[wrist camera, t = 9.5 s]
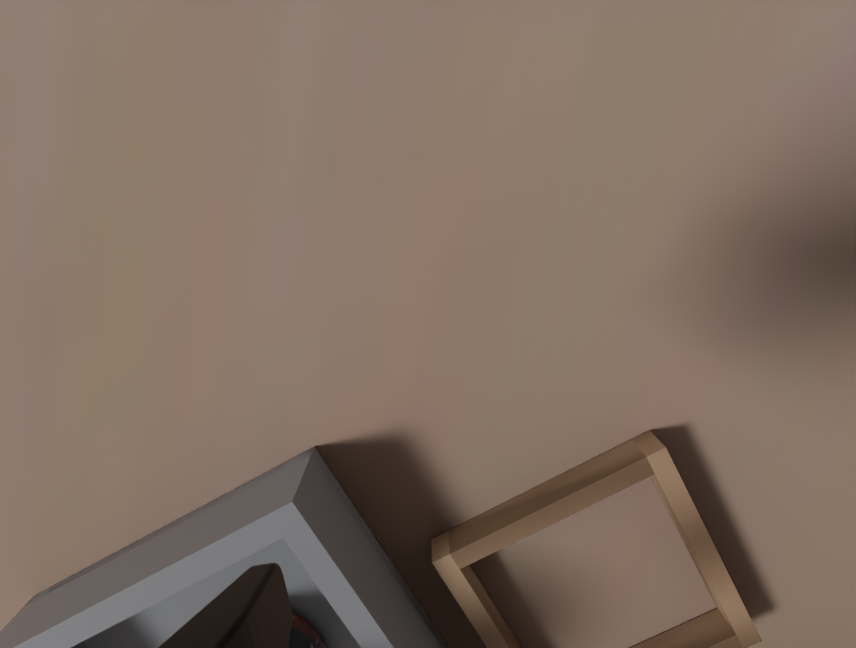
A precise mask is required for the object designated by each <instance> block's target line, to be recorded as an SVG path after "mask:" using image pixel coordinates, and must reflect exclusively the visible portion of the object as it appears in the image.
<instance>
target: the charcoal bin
mask: <svg viewBox="0 0 856 648" xmlns="http://www.w3.org/2000/svg"><path fill="white" fill-rule="evenodd" d="M267 563H277V564H278V565H279V566H280V568H281V570H282V573H283V577H284V581H285V584H286V588H287V592H288V596H289V600H290V604H291V609H292V613H294V614H297V615H298V616H300V617H302V618H303V619H305V620H306V621H307V622H308V623H310V624H311V625H312V626H313V627H314V628H315V629H316V630H317V631H318V633H319V634H320V636H321V637H322V639H323V640H324V642H325V644H326V647H327V648H448V646H447V645H446V643H445V642H444V640H443V639H442V637H441V636H440V634H439V633H438V631H437V630H436V628H435V627H434V625H433V624H432V622H431V621H430V619H429V618H428V616H427V615H426V613H425V612H424V610H423V609H422V607H421V606H420V604H419V603H418V601H417V600H416V598H415V597H414V595H413V594H412V592H411V591H410V589H409V588H408V586H407V585H406V583H405V582H404V580H403V579H402V577H401V576H400V574H399V573H398V571H397V570H396V568H395V567H394V565H393V564H392V562H391V561H390V559H389V558H388V556H387V555H386V553H385V552H384V550H383V549H382V547H381V546H380V544H379V543H378V541H377V540H376V538H375V537H374V535H373V534H372V532H371V531H370V529H369V528H368V526H367V525H366V523H365V522H364V520H363V519H362V517H361V516H360V514H359V513H358V511H357V510H356V508H355V507H354V505H353V504H352V502H351V501H350V499H349V498H348V496H347V495H346V493H345V492H344V490H343V489H342V487H341V486H340V484H339V483H338V481H337V480H336V478H335V477H334V475H333V474H332V472H331V471H330V469H329V468H328V466H327V465H326V463H325V462H324V460H323V459H322V457H321V456H320V454H319V453H318V451H317V450H316V448H315V447H313V448H311V449H309V450H307V451H305V452H303V453H301V454H299V455H298V456H296V457H294V458H292V459H290V460H288V461H286V462H284V463H283V464H281V465H279V466H277V467H275V468H273V469H271V470H269V471H268V472H266V473H264V474H262V475H260V476H258V477H256V478H254V479H252V480H251V481H249V482H247V483H245V484H243V485H241V486H239V487H237V488H236V489H234V490H232V491H230V492H228V493H226V494H224V495H222V496H221V497H219V498H217V499H215V500H213V501H211V502H209V503H207V504H206V505H204V506H202V507H200V508H198V509H196V510H194V511H192V512H191V513H189V514H187V515H185V516H183V517H181V518H179V519H177V520H175V521H174V522H172V523H170V524H168V525H166V526H164V527H162V528H160V529H159V530H157V531H155V532H153V533H151V534H149V535H147V536H145V537H144V538H142V539H140V540H138V541H136V542H134V543H132V544H130V545H129V546H127V547H125V548H123V549H121V550H119V551H117V552H115V553H114V554H112V555H110V556H108V557H106V558H104V559H102V560H100V561H99V562H97V563H95V564H93V565H91V566H89V567H87V568H85V569H83V570H82V571H80V572H78V573H76V574H74V575H72V576H70V577H68V578H67V579H65V580H63V581H61V582H59V583H57V584H55V585H53V586H52V587H50V588H48V589H46V590H44V591H42V592H40V593H38V594H37V595H35V596H33V597H32V599H31V600H30V601H29V602H28V603H27V604H26V605H25V606H24V607H23V608H22V609H21V610H20V611H19V612H18V613H17V615H16V616H15V617H14V618H13V619H12V620H11V621H10V622H9V623H8V624H7V625H6V626H5V627H4V628H3V629H2V630H1V632H0V648H158V647H159V646H160V645H161V644H163V643H164V642H165V641H166V640H167V639H168V638H169V637H171V636H172V635H173V634H174V633H175V632H176V631H177V630H179V629H180V628H181V627H182V626H183V625H184V624H185V623H187V622H188V621H189V620H190V619H191V618H192V617H194V616H195V615H196V614H197V613H198V612H199V611H200V610H202V609H203V608H204V607H205V606H206V605H207V604H208V603H210V602H211V601H212V600H213V599H214V598H215V597H216V596H218V595H219V594H220V593H221V592H222V591H223V590H224V589H226V588H227V587H228V586H229V585H230V584H231V583H232V582H234V581H235V580H236V579H237V578H238V577H239V576H241V575H242V574H243V573H244V572H245V571H246V570H247V569H249V568H250V567H251V566H254V565H260V564H267Z"/></svg>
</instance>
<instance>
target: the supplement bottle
mask: <svg viewBox="0 0 856 648" xmlns="http://www.w3.org/2000/svg"><path fill="white" fill-rule="evenodd" d="M288 648H327V647H326V644H325V642H324V640H323V639H322V637H321V636H320V634H319V633H318V631H317V630H316V629H315V628H314V627H313V626H312V625H311V624H310V623H308V622H307V621H306V620H305V619H303V618H302V617H300V616H298V615H297V614H294V613H292V625H291V632H290V640H289V647H288Z"/></svg>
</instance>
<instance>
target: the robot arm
mask: <svg viewBox="0 0 856 648" xmlns="http://www.w3.org/2000/svg"><path fill="white" fill-rule="evenodd" d="M291 625H292V609H291V604H290V600H289V596H288V592H287V588H286V584H285V581H284V577H283V573H282V570H281V568H280V566H279V565H278V564H277V563H267V564H260V565H254V566H251V567H250V568H249V569H247V570H246V571H245V572H244V573H243V574H242V575H241V576H239V577H238V578H237V579H236V580H235V581H234V582H232V583H231V584H230V585H229V586H228V587H227V588H226V589H224V590H223V591H222V592H221V593H220V594H219V595H218V596H216V597H215V598H214V599H213V600H212V601H211V602H210V603H208V604H207V605H206V606H205V607H204V608H203V609H202V610H200V611H199V612H198V613H197V614H196V615H195V616H194V617H192V618H191V619H190V620H189V621H188V622H187V623H185V624H184V625H183V626H182V627H181V628H180V629H179V630H177V631H176V632H175V633H174V634H173V635H172V636H171V637H169V638H168V639H167V640H166V641H165V642H164V643H163V644H161V645H160V646H159V647H158V648H288V647H289V640H290V632H291Z"/></svg>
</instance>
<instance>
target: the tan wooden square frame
mask: <svg viewBox="0 0 856 648" xmlns="http://www.w3.org/2000/svg"><path fill="white" fill-rule="evenodd" d="M649 476H651V478H652V480H653V482H654V484H655V486H656V488H657V490H658V492H659V494H660V496H661V498H662V500H663V502H664V504H665V506H666V508H667V510H668V512H669V514H670V516H671V518H672V519H673V521H674V523H675V525H676V527H677V529H678V531H679V533H680V535H681V537H682V539H683V541H684V543H685V545H686V547H687V549H688V551H689V553H690V555H691V557H692V559H693V561H694V563H695V565H696V566H697V568H698V570H699V572H700V574H701V576H702V578H703V580H704V582H705V584H706V586H707V588H708V590H709V592H710V594H711V596H712V598H713V600H714V602H715V604H716V606H717V609H714V610H712V611H710V612H708V613H706V614H703V615H701V616H699V617H697V618H695V619H692V620H690V621H688V622H686V623H684V624H681V625H679V626H677V627H675V628H673V629H670V630H668V631H666V632H664V633H662V634H659V635H657V636H655V637H653V638H651V639H649V640H646V641H644V642H642V643H640V644H638V645H635V646H633V647H631V648H747V647H749V646H751V645H753V644H756V643H758V642H760V641H762V640H761V638H760V636H759V634H758V632H757V630H756V628H755V626H754V624H753V622H752V620H751V618H750V616H749V614H748V612H747V610H746V608H745V606H744V604H743V602H742V600H741V598H740V596H739V594H738V592H737V590H736V588H735V586H734V584H733V582H732V580H731V578H730V576H729V574H728V572H727V570H726V568H725V566H724V564H723V562H722V560H721V557H720V555H719V553H718V551H717V549H716V547H715V545H714V543H713V541H712V539H711V537H710V535H709V533H708V531H707V529H706V527H705V525H704V523H703V521H702V519H701V517H700V515H699V513H698V511H697V509H696V507H695V505H694V503H693V501H692V499H691V497H690V495H689V493H688V491H687V489H686V487H685V485H684V483H683V481H682V479H681V477H680V475H679V473H678V471H677V469H676V467H675V465H674V463H673V461H672V459H671V457H670V455H669V453H668V451H667V449H666V447H665V446H664V445H663V444H662V443H661V442H660V441H659V439H658V438H657V437H656V436H655V435H654V434H653V433H652V432H651V431H650V430H649V431H647V432H645V433H643V434H641V435H639V436H637V437H635V438H633V439H631V440H629V441H627V442H625V443H623V444H621V445H619V446H617V447H615V448H613V449H611V450H609V451H607V452H605V453H603V454H601V455H599V456H597V457H595V458H593V459H591V460H589V461H587V462H585V463H583V464H581V465H579V466H577V467H575V468H573V469H571V470H569V471H567V472H565V473H563V474H561V475H559V476H557V477H555V478H553V479H551V480H549V481H547V482H545V483H543V484H541V485H539V486H537V487H535V488H533V489H531V490H529V491H527V492H525V493H523V494H521V495H519V496H517V497H515V498H513V499H511V500H509V501H507V502H505V503H503V504H501V505H499V506H497V507H495V508H493V509H491V510H489V511H487V512H485V513H483V514H481V515H479V516H477V517H475V518H473V519H471V520H469V521H467V522H465V523H463V524H461V525H459V526H457V527H455V528H453V529H451V530H449V531H447V532H445V533H443V534H441V535H439V536H437V537H435V538H433V539H431V547H432V564H433V565H434V567H435V568H436V570H437V571H438V573H439V574H440V576H441V578H442V579H443V581H444V582H445V584H446V585H447V587H448V588H449V590H450V591H451V593H452V595H453V596H454V598H455V599H456V601H457V602H458V604H459V605H460V607H461V608H462V610H463V612H464V613H465V615H466V616H467V618H468V619H469V621H470V622H471V624H472V626H473V627H474V629H475V630H476V632H477V633H478V635H479V636H480V638H481V639H482V641H483V643H484V644H485V646H486V647H487V648H521V646H520V645H519V643H518V642H517V640H516V639H515V637H514V635H513V634H512V632H511V631H510V629H509V627H508V626H507V624H506V623H505V621H504V619H503V618H502V616H501V615H500V613H499V611H498V610H497V608H496V607H495V605H494V603H493V602H492V600H491V599H490V597H489V595H488V594H487V592H486V591H485V589H484V588H483V586H482V584H481V583H480V581H479V580H478V578H477V576H476V575H475V573H474V572H473V570H472V568H471V567H470V564H472V563H474V562H476V561H478V560H480V559H482V558H484V557H486V556H488V555H490V554H492V553H494V552H496V551H498V550H500V549H502V548H504V547H506V546H508V545H510V544H512V543H515V542H517V541H519V540H521V539H523V538H525V537H527V536H529V535H531V534H533V533H535V532H537V531H539V530H541V529H543V528H545V527H547V526H549V525H551V524H553V523H555V522H557V521H559V520H561V519H564V518H566V517H568V516H570V515H572V514H574V513H576V512H578V511H580V510H582V509H584V508H586V507H588V506H590V505H592V504H594V503H596V502H598V501H600V500H602V499H604V498H606V497H608V496H611V495H613V494H615V493H617V492H619V491H621V490H623V489H625V488H627V487H629V486H631V485H633V484H635V483H637V482H639V481H641V480H643V479H645V478H647V477H649Z"/></svg>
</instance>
